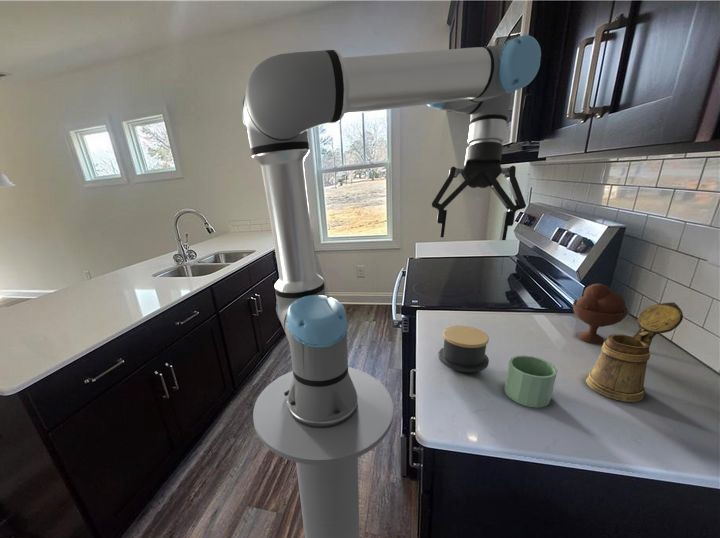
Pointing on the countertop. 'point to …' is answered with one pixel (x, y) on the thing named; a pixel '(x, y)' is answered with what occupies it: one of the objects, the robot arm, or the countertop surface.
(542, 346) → the countertop surface
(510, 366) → the cup
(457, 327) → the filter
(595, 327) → the ice cream bowl
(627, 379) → the wooden mug
